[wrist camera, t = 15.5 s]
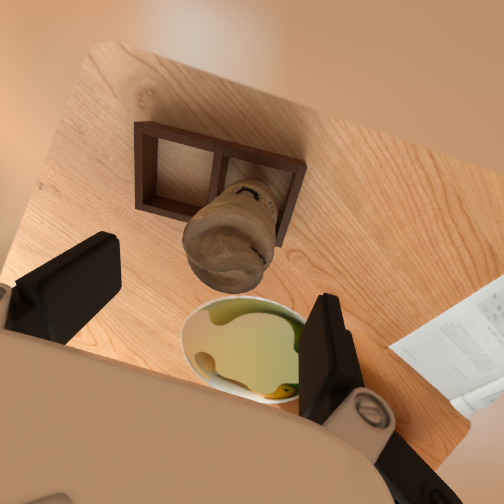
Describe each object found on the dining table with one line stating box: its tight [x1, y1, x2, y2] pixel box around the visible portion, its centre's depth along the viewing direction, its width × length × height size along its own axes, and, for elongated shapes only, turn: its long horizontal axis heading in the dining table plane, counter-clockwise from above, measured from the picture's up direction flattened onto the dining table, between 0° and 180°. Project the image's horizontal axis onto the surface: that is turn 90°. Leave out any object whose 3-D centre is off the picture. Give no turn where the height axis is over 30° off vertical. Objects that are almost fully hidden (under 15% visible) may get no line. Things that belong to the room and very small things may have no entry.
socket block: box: [134, 121, 307, 248], centre depth 25 cm, size 16×8×3 cm, turn 77°
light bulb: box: [182, 179, 278, 294], centre depth 20 cm, size 6×6×15 cm
